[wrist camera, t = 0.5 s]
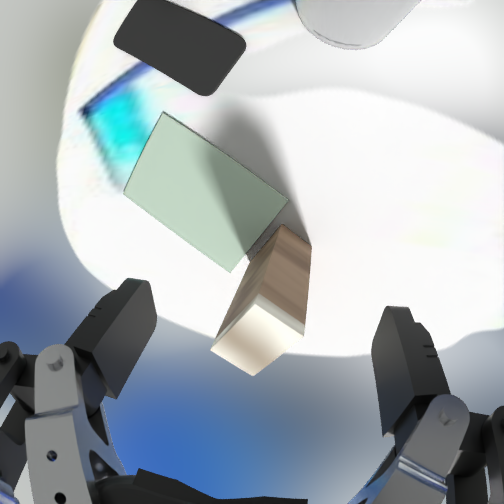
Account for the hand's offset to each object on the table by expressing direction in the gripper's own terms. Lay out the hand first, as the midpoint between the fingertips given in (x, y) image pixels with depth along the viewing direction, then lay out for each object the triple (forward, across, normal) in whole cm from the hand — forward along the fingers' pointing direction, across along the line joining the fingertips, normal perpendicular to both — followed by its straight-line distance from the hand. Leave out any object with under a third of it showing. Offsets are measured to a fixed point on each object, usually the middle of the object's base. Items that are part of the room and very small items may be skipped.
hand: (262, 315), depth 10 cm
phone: (+23, +12, -14) cm, 30 cm away
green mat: (+22, +10, +4) cm, 24 cm away
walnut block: (+21, 0, +10) cm, 23 cm away
